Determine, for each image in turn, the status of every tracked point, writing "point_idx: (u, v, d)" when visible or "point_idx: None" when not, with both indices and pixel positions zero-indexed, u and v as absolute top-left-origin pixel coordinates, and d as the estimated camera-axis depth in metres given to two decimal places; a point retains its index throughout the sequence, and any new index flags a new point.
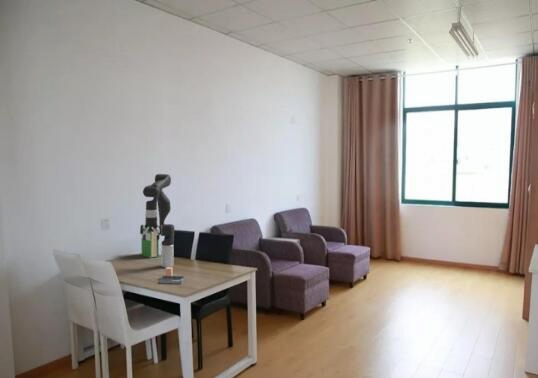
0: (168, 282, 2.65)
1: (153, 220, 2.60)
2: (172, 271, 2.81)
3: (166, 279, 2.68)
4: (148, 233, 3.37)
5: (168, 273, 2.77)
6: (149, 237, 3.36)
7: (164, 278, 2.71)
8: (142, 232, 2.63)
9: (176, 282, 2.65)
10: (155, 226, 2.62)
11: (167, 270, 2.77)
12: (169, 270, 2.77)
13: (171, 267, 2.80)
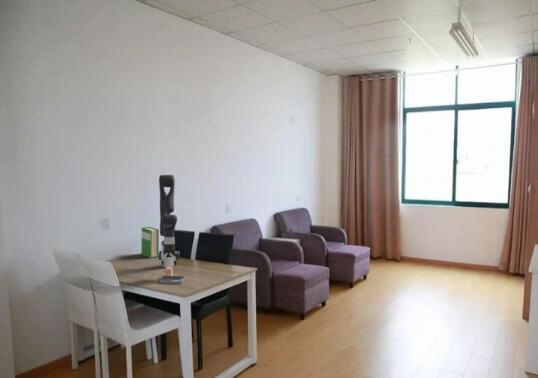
0: (168, 282, 2.65)
1: (171, 246, 2.75)
2: (172, 271, 2.81)
3: (166, 279, 2.68)
4: (148, 233, 3.37)
5: (168, 273, 2.77)
6: (149, 237, 3.36)
7: (164, 278, 2.71)
8: (160, 258, 2.77)
9: (176, 282, 2.65)
10: (173, 252, 2.77)
11: (167, 270, 2.77)
12: (169, 270, 2.77)
13: (171, 267, 2.80)
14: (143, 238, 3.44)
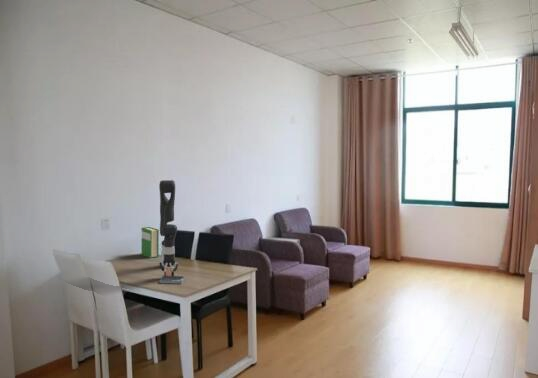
0: (168, 282, 2.65)
1: (171, 256, 2.75)
2: None
3: (166, 279, 2.68)
4: (148, 233, 3.37)
5: (168, 273, 2.77)
6: (149, 237, 3.36)
7: (164, 278, 2.71)
8: (163, 269, 2.78)
9: (176, 282, 2.65)
10: (173, 263, 2.78)
11: (167, 270, 2.77)
12: (169, 270, 2.77)
13: None
14: (143, 238, 3.44)
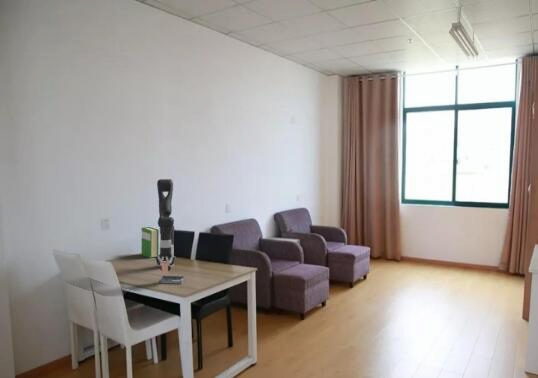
0: (168, 282, 2.65)
1: (167, 250, 2.65)
2: None
3: (166, 279, 2.68)
4: (148, 233, 3.37)
5: (164, 267, 2.66)
6: (149, 237, 3.36)
7: (164, 278, 2.71)
8: (159, 263, 2.68)
9: (176, 282, 2.65)
10: (169, 257, 2.67)
11: (163, 264, 2.66)
12: (165, 264, 2.66)
13: None
14: (143, 238, 3.44)
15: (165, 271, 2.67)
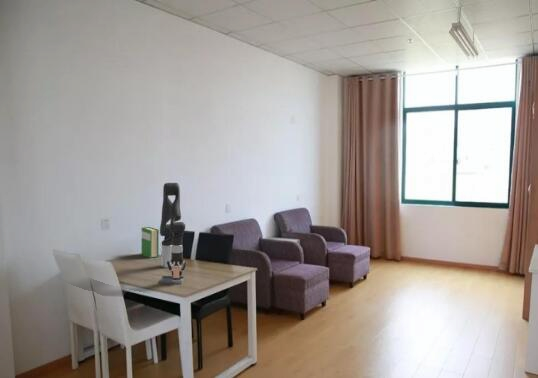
0: (168, 282, 2.65)
1: (179, 255, 2.65)
2: None
3: (166, 279, 2.68)
4: (148, 233, 3.37)
5: (175, 272, 2.67)
6: (149, 237, 3.36)
7: (164, 278, 2.71)
8: (171, 268, 2.68)
9: (176, 282, 2.65)
10: (181, 262, 2.67)
11: (175, 269, 2.67)
12: (177, 269, 2.67)
13: None
14: (143, 238, 3.44)
15: (176, 276, 2.67)
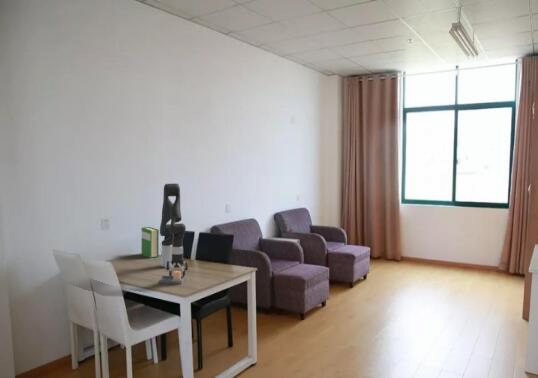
0: (168, 282, 2.65)
1: (179, 256, 2.65)
2: (180, 275, 2.71)
3: (166, 279, 2.68)
4: (148, 233, 3.37)
5: (176, 277, 2.67)
6: (149, 237, 3.36)
7: (164, 278, 2.71)
8: (168, 268, 2.68)
9: (176, 282, 2.65)
10: (181, 262, 2.67)
11: (175, 274, 2.67)
12: (177, 274, 2.67)
13: (179, 271, 2.70)
14: (143, 238, 3.44)
15: None
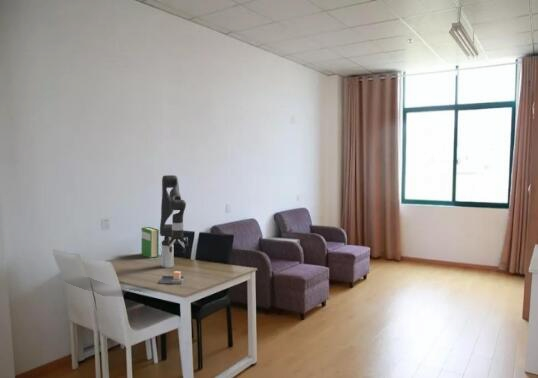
0: (168, 282, 2.65)
1: (179, 232, 2.65)
2: (180, 275, 2.71)
3: (166, 279, 2.68)
4: (148, 233, 3.37)
5: (176, 277, 2.67)
6: (149, 237, 3.36)
7: (164, 278, 2.71)
8: (168, 244, 2.68)
9: (176, 282, 2.65)
10: (181, 238, 2.67)
11: (175, 274, 2.67)
12: (177, 274, 2.67)
13: (179, 271, 2.70)
14: (143, 238, 3.44)
15: None
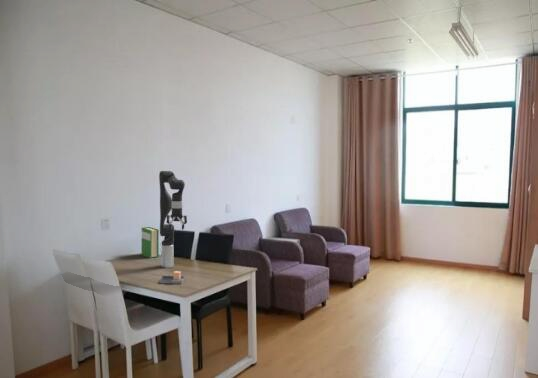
0: (168, 282, 2.65)
1: (178, 210, 2.82)
2: (180, 275, 2.71)
3: (166, 279, 2.68)
4: (148, 233, 3.37)
5: (176, 277, 2.67)
6: (149, 237, 3.36)
7: (164, 278, 2.71)
8: (168, 222, 2.85)
9: (176, 282, 2.65)
10: (180, 216, 2.85)
11: (175, 274, 2.67)
12: (177, 274, 2.67)
13: (179, 271, 2.70)
14: (143, 238, 3.44)
15: None
